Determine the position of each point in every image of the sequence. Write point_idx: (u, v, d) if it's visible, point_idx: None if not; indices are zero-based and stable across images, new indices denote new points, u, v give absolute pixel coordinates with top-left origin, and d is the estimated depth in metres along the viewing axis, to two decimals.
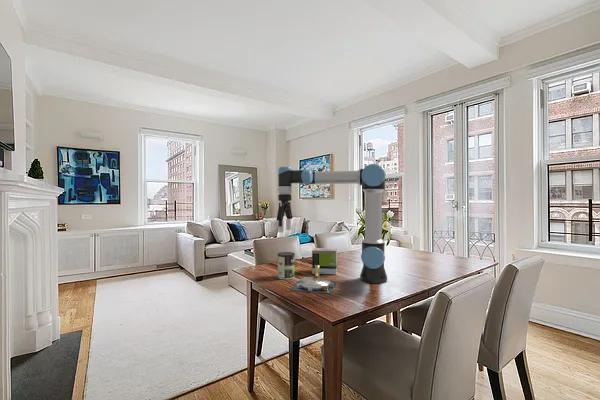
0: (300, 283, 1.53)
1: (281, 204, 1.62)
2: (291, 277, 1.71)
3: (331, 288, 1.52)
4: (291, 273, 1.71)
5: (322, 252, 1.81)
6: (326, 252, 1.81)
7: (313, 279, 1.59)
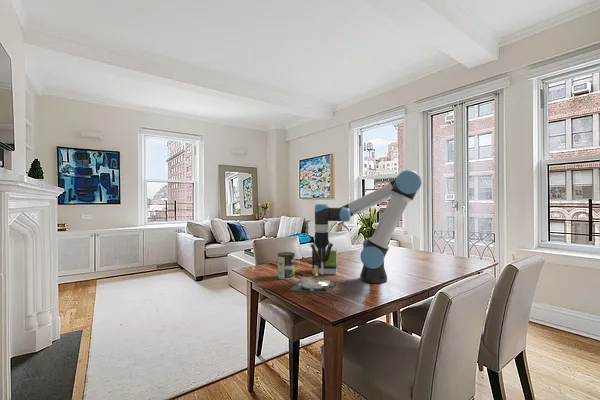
0: (301, 283, 1.53)
1: (311, 247, 1.63)
2: (291, 277, 1.71)
3: (331, 288, 1.52)
4: (291, 273, 1.71)
5: None
6: None
7: (312, 279, 1.59)
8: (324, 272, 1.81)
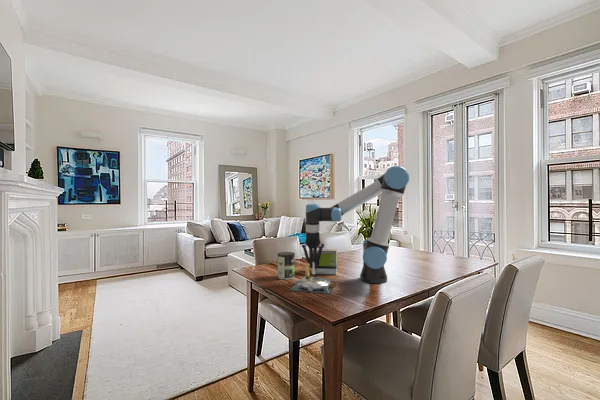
0: (309, 285, 1.49)
1: (302, 247, 1.62)
2: (291, 277, 1.71)
3: (331, 288, 1.52)
4: (291, 273, 1.71)
5: (322, 252, 1.81)
6: (326, 252, 1.81)
7: (310, 280, 1.58)
8: (324, 272, 1.81)
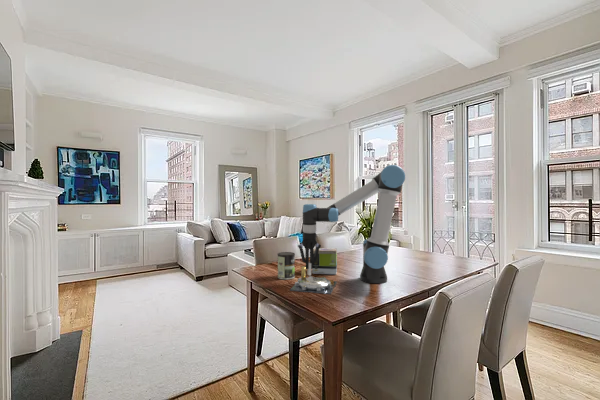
0: (316, 286, 1.49)
1: (299, 247, 1.61)
2: (291, 277, 1.71)
3: (331, 288, 1.52)
4: (291, 273, 1.71)
5: (322, 252, 1.81)
6: (326, 252, 1.81)
7: (310, 280, 1.57)
8: (324, 272, 1.81)
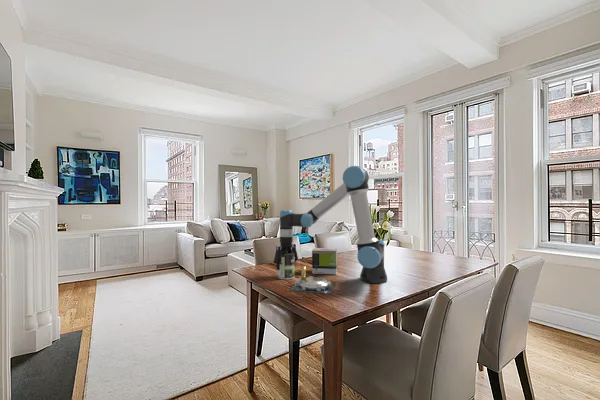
0: (316, 286, 1.49)
1: (277, 248, 1.69)
2: (291, 277, 1.71)
3: (331, 288, 1.52)
4: (291, 273, 1.71)
5: (322, 252, 1.81)
6: (326, 252, 1.81)
7: (310, 280, 1.57)
8: (324, 272, 1.81)
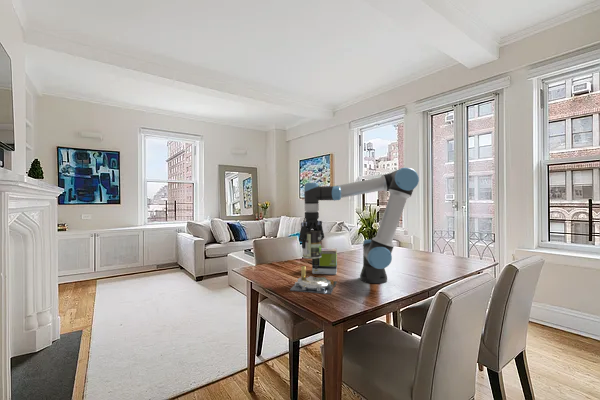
0: (316, 286, 1.49)
1: (303, 224, 1.53)
2: (318, 256, 1.55)
3: (331, 288, 1.52)
4: (318, 252, 1.55)
5: (322, 252, 1.81)
6: (326, 252, 1.81)
7: (310, 280, 1.57)
8: (324, 272, 1.81)
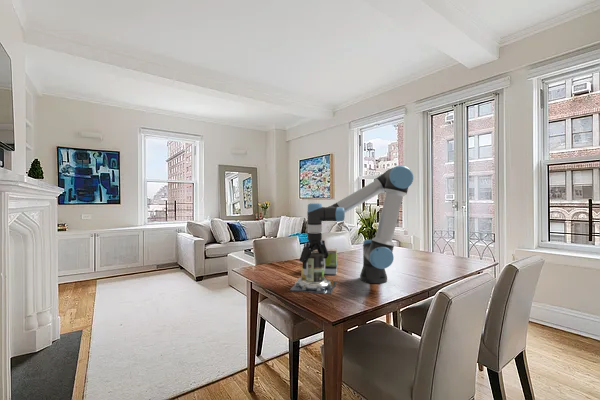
0: (316, 286, 1.49)
1: (306, 245, 1.52)
2: (321, 281, 1.53)
3: (331, 288, 1.52)
4: (321, 276, 1.53)
5: None
6: None
7: None
8: (324, 272, 1.81)
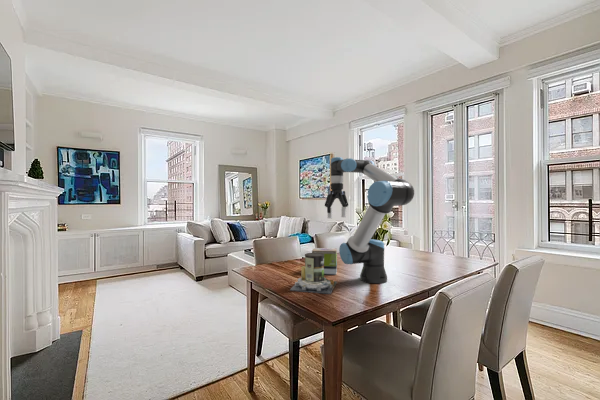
0: (316, 286, 1.49)
1: (330, 192, 1.75)
2: (321, 281, 1.53)
3: (331, 288, 1.52)
4: (321, 276, 1.53)
5: (322, 252, 1.81)
6: (326, 252, 1.81)
7: None
8: (324, 272, 1.81)
